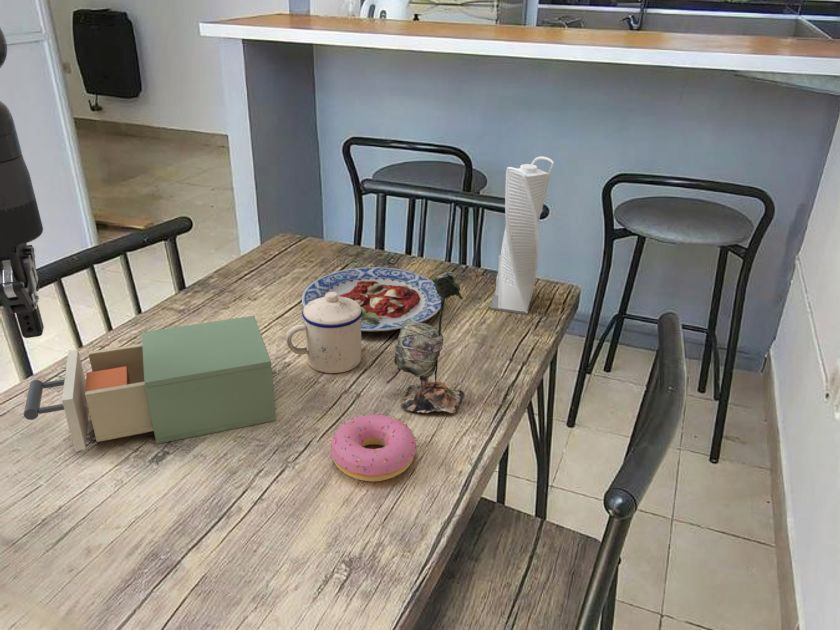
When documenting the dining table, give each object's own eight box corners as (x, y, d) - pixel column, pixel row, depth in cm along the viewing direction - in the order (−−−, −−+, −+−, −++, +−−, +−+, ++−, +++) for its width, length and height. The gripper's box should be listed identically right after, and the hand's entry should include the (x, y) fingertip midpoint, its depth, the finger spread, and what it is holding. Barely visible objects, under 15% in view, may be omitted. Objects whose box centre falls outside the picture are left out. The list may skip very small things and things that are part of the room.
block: (92, 424, 89) (85, 392, 87) (93, 403, 93) (86, 372, 91) (133, 416, 91) (127, 385, 88) (133, 396, 95) (126, 365, 92)
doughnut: (326, 437, 91) (325, 412, 89) (406, 428, 93) (407, 402, 91) (336, 493, 81) (334, 466, 79) (425, 481, 84) (426, 454, 82)
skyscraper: (539, 299, 129) (556, 152, 116) (534, 318, 122) (552, 164, 109) (495, 293, 131) (507, 148, 118) (488, 312, 124) (500, 160, 111)
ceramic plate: (347, 267, 140) (347, 254, 139) (464, 293, 131) (465, 279, 130) (273, 320, 119) (272, 305, 118) (405, 355, 110) (406, 339, 109)
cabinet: (156, 444, 89) (144, 382, 84) (152, 389, 100) (141, 331, 95) (276, 420, 94) (270, 361, 89) (259, 370, 105) (254, 315, 101)
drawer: (30, 460, 84) (14, 408, 80) (40, 405, 94) (26, 356, 91) (195, 428, 90) (187, 378, 87) (187, 379, 101) (180, 333, 97)
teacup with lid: (351, 341, 114) (349, 277, 108) (371, 367, 106) (370, 301, 101) (280, 355, 109) (275, 289, 104) (296, 384, 102) (291, 315, 96)
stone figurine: (403, 376, 104) (405, 256, 95) (471, 396, 100) (480, 272, 91) (377, 403, 98) (376, 277, 89) (449, 426, 94) (455, 295, 84)
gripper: (-32, 183, 80) (6, 314, 88) (-56, 220, 69) (-10, 366, 77) (40, 178, 82) (70, 306, 90) (27, 213, 71) (64, 355, 79)
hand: (33, 334), depth 83 cm, fingers closed
